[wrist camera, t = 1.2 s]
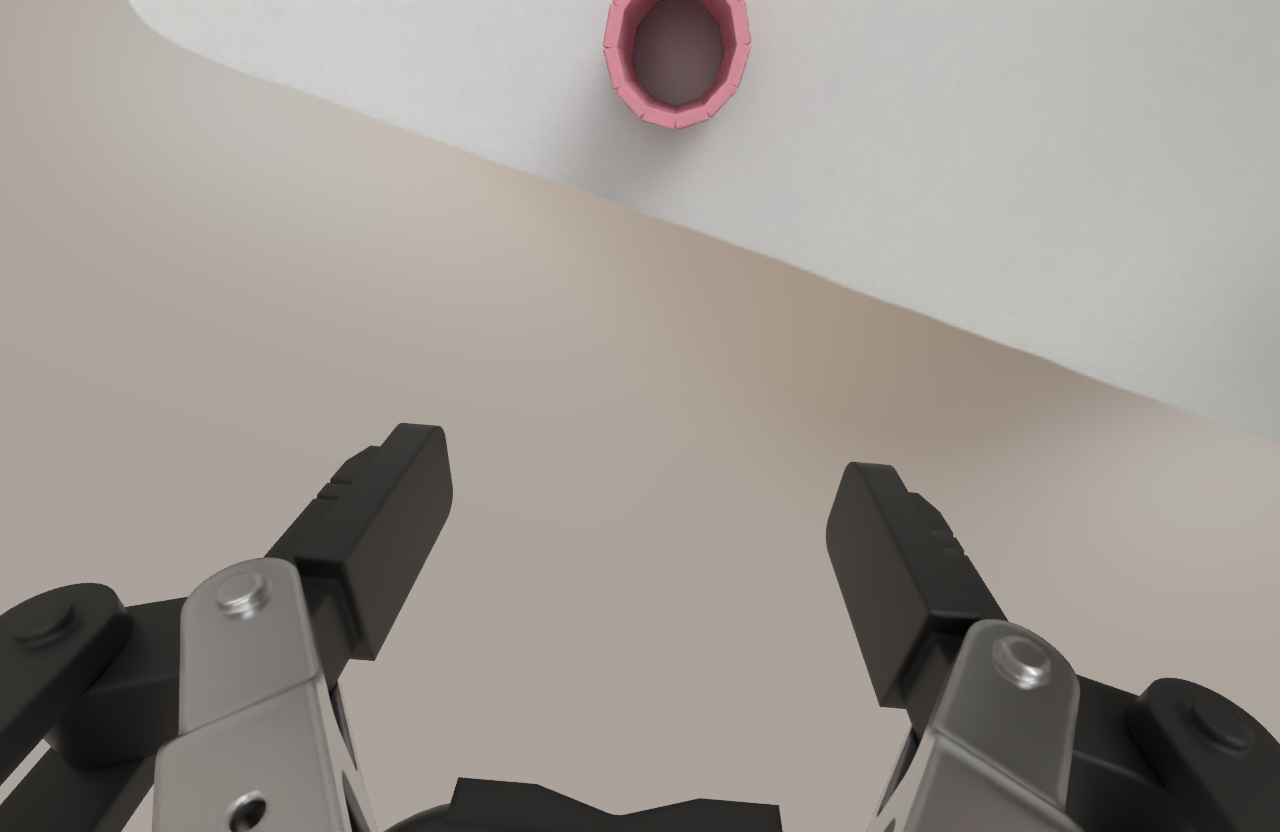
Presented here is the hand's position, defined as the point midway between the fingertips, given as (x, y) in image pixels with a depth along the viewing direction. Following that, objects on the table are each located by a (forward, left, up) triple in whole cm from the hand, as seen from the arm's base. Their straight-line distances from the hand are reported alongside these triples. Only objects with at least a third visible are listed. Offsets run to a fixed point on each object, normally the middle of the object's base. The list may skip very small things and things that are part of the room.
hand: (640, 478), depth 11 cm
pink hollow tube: (-8, -2, -27) cm, 28 cm away
